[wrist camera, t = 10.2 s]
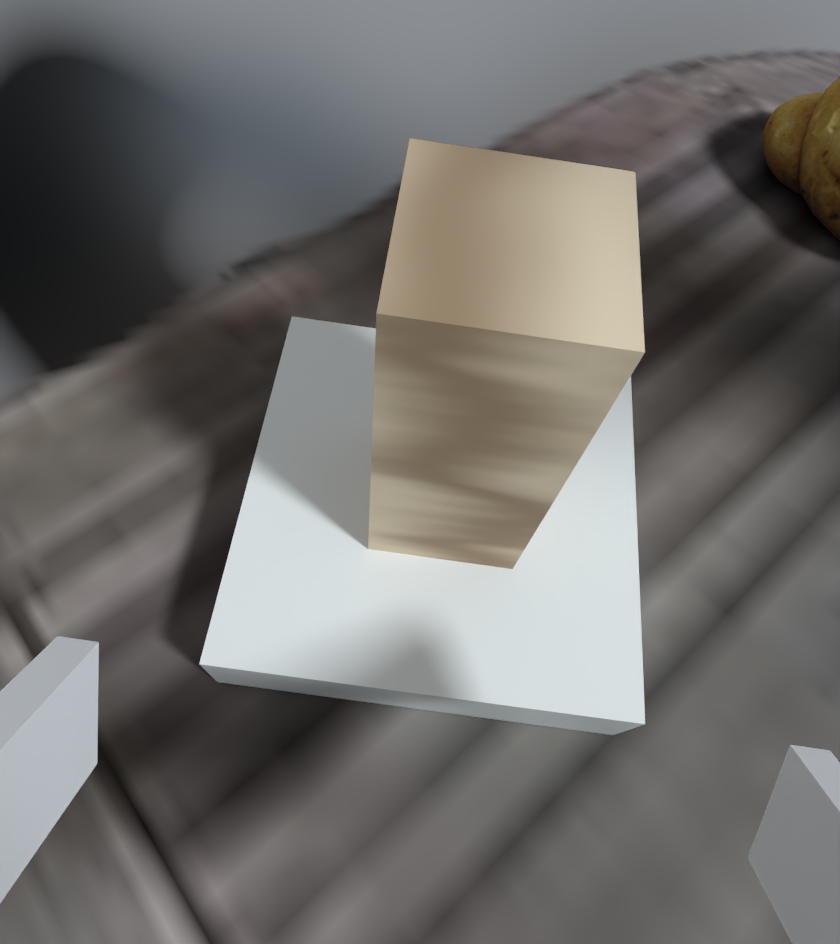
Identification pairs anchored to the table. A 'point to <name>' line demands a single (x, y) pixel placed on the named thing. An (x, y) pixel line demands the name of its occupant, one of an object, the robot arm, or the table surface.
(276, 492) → the stone tile base
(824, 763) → the robot arm
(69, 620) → the table surface
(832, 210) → the bread roll
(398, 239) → the beech block
